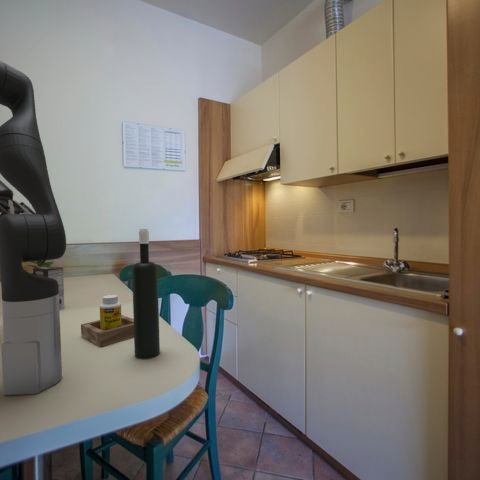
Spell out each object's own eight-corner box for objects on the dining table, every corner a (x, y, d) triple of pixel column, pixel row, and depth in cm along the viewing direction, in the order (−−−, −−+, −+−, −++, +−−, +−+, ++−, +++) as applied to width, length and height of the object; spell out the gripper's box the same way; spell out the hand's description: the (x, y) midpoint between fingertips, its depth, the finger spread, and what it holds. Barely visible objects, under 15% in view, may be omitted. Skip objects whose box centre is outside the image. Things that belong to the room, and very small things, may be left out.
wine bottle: (150, 347, 78) (147, 229, 77) (164, 352, 74) (161, 228, 73) (129, 354, 74) (126, 229, 72) (143, 361, 70) (139, 229, 69)
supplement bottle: (102, 337, 83) (101, 299, 83) (98, 331, 88) (97, 295, 87) (123, 332, 86) (122, 296, 86) (119, 327, 91) (118, 293, 90)
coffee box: (34, 310, 116) (32, 267, 115) (51, 306, 122) (49, 265, 121) (48, 313, 112) (46, 269, 111) (65, 308, 118) (63, 266, 117)
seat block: (142, 334, 88) (142, 322, 88) (100, 347, 79) (100, 333, 79) (121, 326, 96) (121, 314, 95) (81, 336, 87) (80, 324, 86)
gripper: (-22, 175, 80) (26, 218, 81) (14, 182, 94) (55, 219, 96) (-42, 195, 80) (6, 238, 81) (-3, 200, 94) (38, 237, 95)
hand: (32, 228), depth 88 cm, fingers open, 8 cm apart
